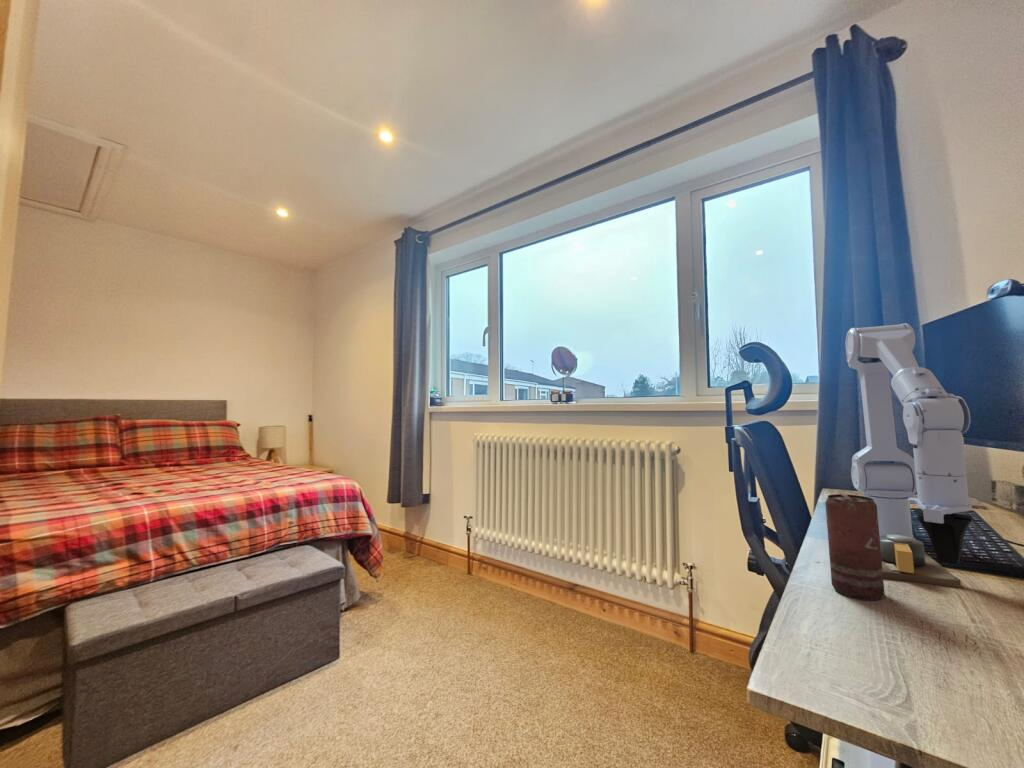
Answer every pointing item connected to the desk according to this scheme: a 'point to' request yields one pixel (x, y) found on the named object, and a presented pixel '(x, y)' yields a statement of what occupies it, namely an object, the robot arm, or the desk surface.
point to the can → (854, 546)
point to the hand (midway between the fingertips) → (948, 562)
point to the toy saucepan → (902, 551)
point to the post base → (922, 573)
